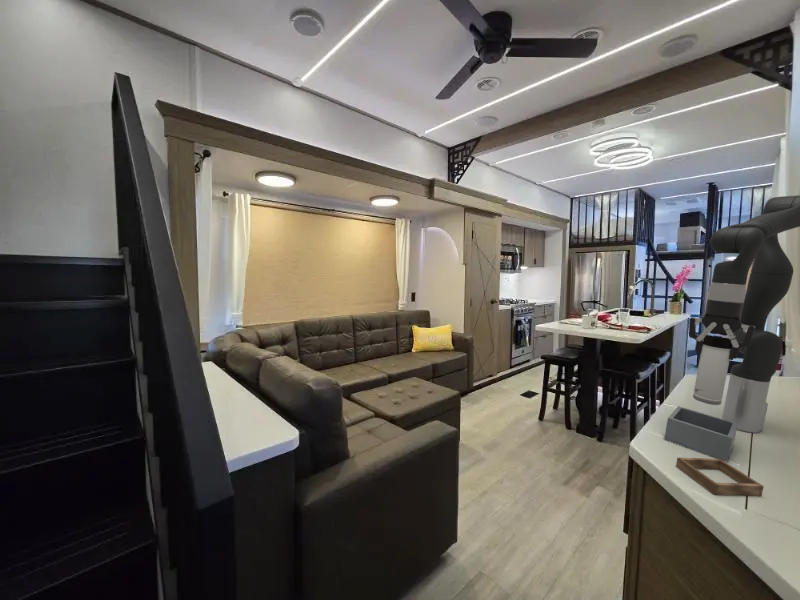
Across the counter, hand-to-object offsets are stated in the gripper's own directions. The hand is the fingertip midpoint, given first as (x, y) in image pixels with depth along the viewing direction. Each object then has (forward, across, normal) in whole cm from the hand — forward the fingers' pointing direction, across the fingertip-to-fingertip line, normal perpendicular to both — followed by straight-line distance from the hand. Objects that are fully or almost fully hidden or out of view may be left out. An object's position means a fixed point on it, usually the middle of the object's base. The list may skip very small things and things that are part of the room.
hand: (714, 356), depth 99 cm
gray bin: (+27, 0, 0) cm, 27 cm away
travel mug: (+14, 0, 0) cm, 14 cm away
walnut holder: (+27, -6, +21) cm, 34 cm away
